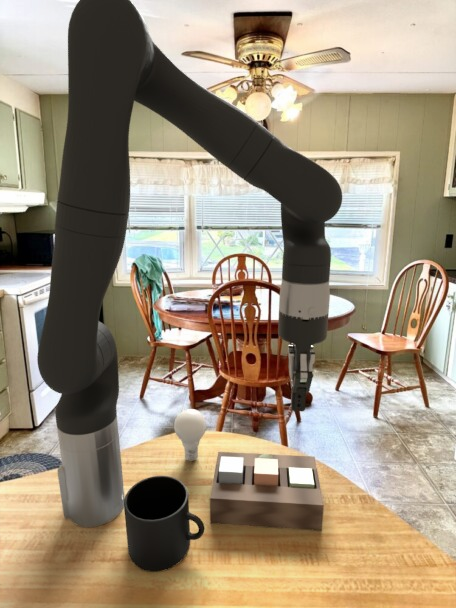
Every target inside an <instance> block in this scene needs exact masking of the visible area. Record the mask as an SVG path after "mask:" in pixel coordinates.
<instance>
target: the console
mask: <svg viewBox="0 0 456 608" xmlns="http://www.w3.org/2000/svg"><path fill="white" fill-rule="evenodd" d="M221 456H224V457H243V458H244V479H243V484H227V483H219V467H220V461H221ZM255 458H263V459H278V486H262V485H254V469H255ZM289 467H292V468H311V469H312V473H313V479H314V488H297V487H288V475H289ZM214 468H215V469H214V472H213V473H214V474H213V479H212V484H211V489H210V490H211V492H210V496H209V510H210V511H209V514H210V516H209V517H210V518H209V519H210V520H209V521H210V525H211V524H212V525H224V526H225V525H226V526H227V525H228V526H241V527H242V526H243V527H257V528H258V527H259V528H270V529H271V528H272V529H284V530H285V529H288V530H301V531H317V532H318V531H319V532H322V531H323V521H324V518H323V517H324V505H325V504H324V498H323V493H322V489H321V482H320V478H319V477H320V476H319V474H318V473H319V472H318V467H317V462H316V457H315V456H313V455H311V456H308V455H306V456H305V455H293V454H292V455H288V454H272V453H271V454H268V453H251V452H250V453H249V452H248V453H247V452H234V451H233V452H229V451H217V456H216V462H215V466H214Z"/></svg>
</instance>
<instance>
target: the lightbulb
mask: <svg viewBox="0 0 456 608" xmlns="http://www.w3.org/2000/svg"><path fill="white" fill-rule="evenodd" d="M173 429H174V432H175V435H176V436H177V437H178V439H179V440H180V441H181V443H182V446H183V450H184V459H185V460H186V461H188V462H190V461H191V462H192V461H196V460H197V459H198V457H199V452H198V451H199V445H200V442H201V439H202V437H203V436H205V433H206V429H207V420H206V417H205V416H204V414H203V413H202V412H200V411H199V410H197V409H194V408H187V409H184V410H181V411H180V412H179V414H177V416H176V417H175V420H174V423H173Z"/></svg>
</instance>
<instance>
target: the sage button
mask: <svg viewBox="0 0 456 608" xmlns="http://www.w3.org/2000/svg"><path fill="white" fill-rule="evenodd" d="M288 487H297V488H314V479H313V473H312V469H311V468H292V467H289V475H288Z"/></svg>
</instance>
